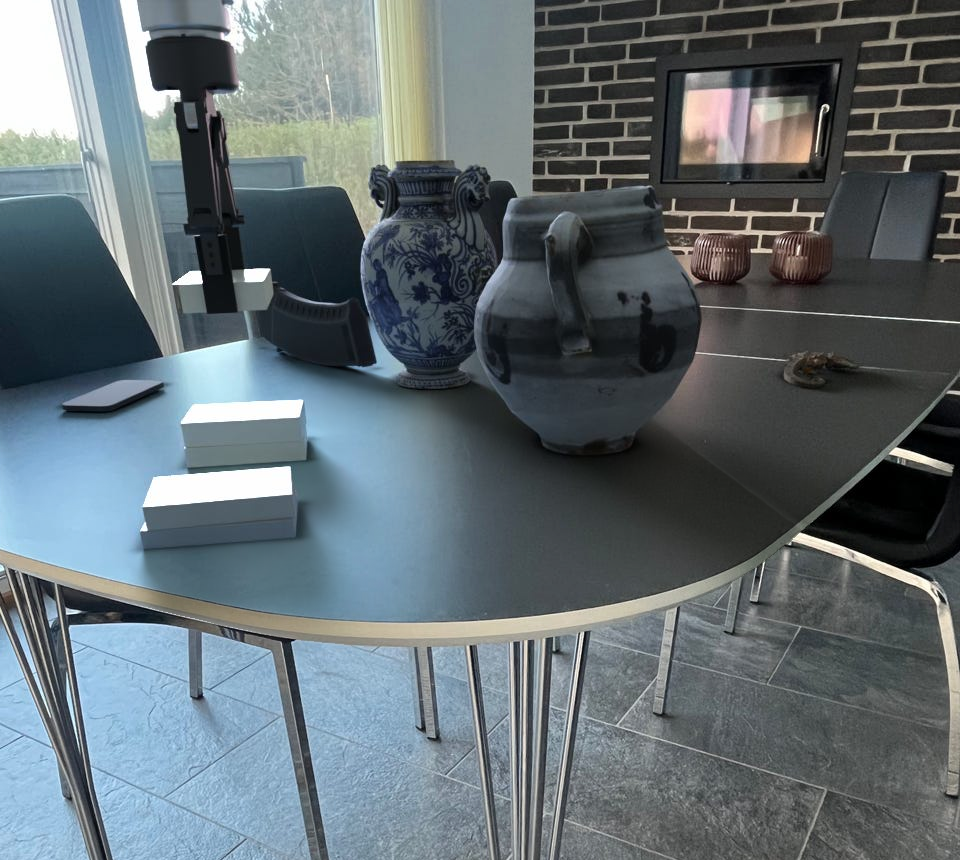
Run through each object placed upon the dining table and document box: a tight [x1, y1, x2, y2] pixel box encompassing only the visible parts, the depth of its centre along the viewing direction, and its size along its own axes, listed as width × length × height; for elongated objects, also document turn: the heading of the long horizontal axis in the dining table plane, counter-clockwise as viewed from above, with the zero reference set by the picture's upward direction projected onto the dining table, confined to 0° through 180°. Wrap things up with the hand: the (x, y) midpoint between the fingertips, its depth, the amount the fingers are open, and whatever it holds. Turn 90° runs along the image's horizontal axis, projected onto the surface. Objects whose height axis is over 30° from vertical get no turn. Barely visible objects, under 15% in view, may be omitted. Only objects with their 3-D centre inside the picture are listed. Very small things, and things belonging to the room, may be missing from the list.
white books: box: [180, 399, 308, 469], centre depth 92 cm, size 12×8×5 cm
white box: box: [139, 466, 299, 550], centre depth 73 cm, size 12×8×4 cm
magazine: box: [259, 281, 378, 368], centre depth 138 cm, size 17×3×30 cm
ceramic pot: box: [474, 185, 703, 456], centre depth 88 cm, size 29×23×25 cm
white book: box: [172, 268, 274, 315], centre depth 85 cm, size 8×12×2 cm
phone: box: [61, 379, 165, 413], centre depth 119 cm, size 7×1×15 cm
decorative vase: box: [360, 159, 499, 390], centre depth 118 cm, size 21×19×28 cm
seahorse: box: [782, 348, 860, 389], centre depth 122 cm, size 9×16×3 cm, turn 132°
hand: (229, 304), depth 85 cm, fingers closed on white book, 12 cm apart
